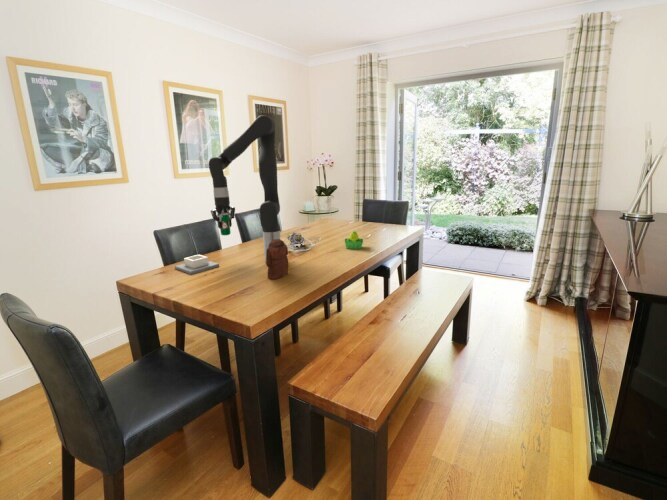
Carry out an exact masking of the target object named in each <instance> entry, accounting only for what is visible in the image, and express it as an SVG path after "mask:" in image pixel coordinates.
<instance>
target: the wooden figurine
mask: <svg viewBox="0 0 667 500" xmlns="http://www.w3.org/2000/svg"><path fill="white" fill-rule="evenodd" d="M288 250H289V249H288V246H287V245H286V244H285V242H284V241H283V240H282V239H281V238H280V239H274V240H272V241H271V242H270V243H269V246H268V249H267V251H266V262H265V264H266V267H267V278H268V279H270V280H276V279H279V278H281V277H283V276H285V275H287V274H288V272H289V259H288V254H289V251H288Z"/></svg>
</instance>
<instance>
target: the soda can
mask: <svg viewBox="0 0 667 500" xmlns="http://www.w3.org/2000/svg"><path fill="white" fill-rule="evenodd" d="M219 216H220V215H219ZM221 222H222V229H220V236H229V235H231V227H230V223H229V215H228V213H223V217H222V220H221Z"/></svg>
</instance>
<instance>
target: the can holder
mask: <svg viewBox="0 0 667 500" xmlns="http://www.w3.org/2000/svg"><path fill="white" fill-rule="evenodd" d="M183 261H184V263H181V264H178V265H174V269H175V270H177V271H180V272H183V273H186V274H189V275H193V274H194V275H195V274H198V273H201V272H205V271H209V270H212V269H215V268H218V267H220V263H218V262H215V261H210V260H209V256H205V255H204V254H203V255H202V254H195V255H192V256H188V257H184V258H183Z"/></svg>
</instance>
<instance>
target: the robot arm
mask: <svg viewBox="0 0 667 500" xmlns="http://www.w3.org/2000/svg"><path fill="white" fill-rule="evenodd" d="M257 139H259V143H260V151H259V157H258V173H259V179H260V182H261V185H262V188H263V193H264V195H263V196H264V202H262V203H261V205H260V206H259V220H260V226H261V230H262V240H263V253H264V262H265V263H266V251H267V249H268V246H269V243H270V242H271V241H272V240H274V239H280V240H281V226H280V224H279V222H278V216H279V213H280V211H281V206H280V205H281V204H280V198H279V192H278V166H277V165H278V163H277V153H276V144H275V143H276V142H275V141H276V123H275V120H274V119H273V118H272V117H271V116H268V115H266V114H262V115H258V116H257V117H256V118H255V120H254V121H253V122H252V123H251V125H249V127H248V128H247V129H246V130H244V132H243V133H242V134H240V135H239V136H238V137H237V138H235V140H233V141H232V142H231V143H229V144H228V145H227V146H226V147H225V148H224V149H223V150H222V152H221V153H220V154H219V155H217V156H213V157H211V158H209V160H208V169H209V172H210V176H211V179H212V185H213V186H212V187H213V198H214V199H213V200H214V205H215V208H214V209H211V210H210V215H211V216H212V220H213V221H214V222H217V227H218V229H222V222H221V220H222V217H223V213H228V215H229V223H230V228H231V227H232V226H233V225H232V219H235V214H236V207H234V206H230V204H231V203H230V193H229V192H230V191H229V189H228V180H227V177H226V176H225V174H224V170H225V169H226V168H228V166H230V165H231V164H232V162H233V161H235V160H236V159H237V158H238V157H240V156H241V155H242V154H243V153H245V151H246V150H247V149H248V148H249V147H250V146H251V145H252V144H253V143H254V142H255V141H256V140H257ZM219 215H220V216H219Z"/></svg>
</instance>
